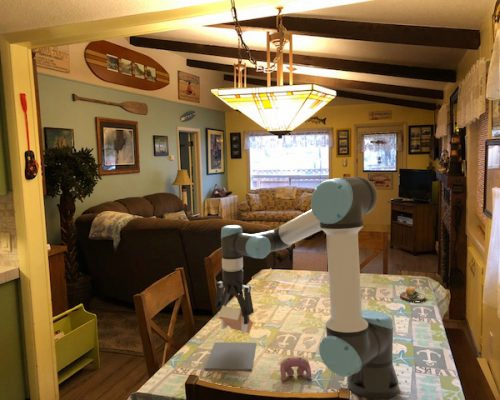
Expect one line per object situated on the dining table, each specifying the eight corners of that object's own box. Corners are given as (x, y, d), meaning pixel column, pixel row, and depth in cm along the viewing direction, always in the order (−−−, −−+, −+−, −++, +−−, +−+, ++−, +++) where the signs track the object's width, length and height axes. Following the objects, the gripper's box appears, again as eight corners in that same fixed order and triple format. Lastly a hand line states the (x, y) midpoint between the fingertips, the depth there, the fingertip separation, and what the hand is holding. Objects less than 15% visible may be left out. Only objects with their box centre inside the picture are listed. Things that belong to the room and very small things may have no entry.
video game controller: (310, 379, 137) (308, 356, 139) (312, 379, 133) (310, 356, 135) (280, 380, 136) (278, 357, 139) (281, 381, 132) (280, 357, 135)
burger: (429, 302, 200) (429, 287, 199) (404, 303, 200) (404, 288, 200) (419, 294, 212) (420, 280, 211) (396, 295, 212) (396, 280, 212)
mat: (251, 370, 140) (251, 368, 140) (204, 369, 142) (204, 368, 141) (256, 344, 160) (256, 342, 160) (214, 343, 161) (214, 342, 161)
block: (235, 318, 159) (222, 305, 152) (253, 322, 155) (241, 309, 148) (231, 328, 157) (218, 315, 150) (249, 332, 153) (236, 319, 146)
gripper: (263, 269, 147) (264, 331, 149) (215, 262, 158) (217, 320, 161) (251, 275, 141) (253, 339, 143) (203, 267, 152) (205, 327, 154)
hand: (234, 329), depth 152 cm, fingers closed on block, 8 cm apart
